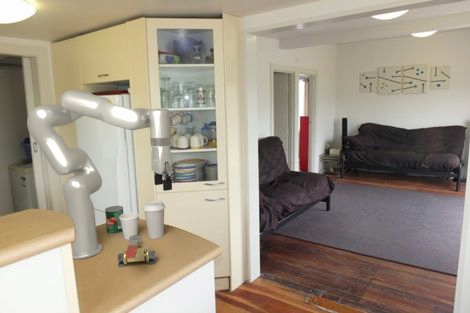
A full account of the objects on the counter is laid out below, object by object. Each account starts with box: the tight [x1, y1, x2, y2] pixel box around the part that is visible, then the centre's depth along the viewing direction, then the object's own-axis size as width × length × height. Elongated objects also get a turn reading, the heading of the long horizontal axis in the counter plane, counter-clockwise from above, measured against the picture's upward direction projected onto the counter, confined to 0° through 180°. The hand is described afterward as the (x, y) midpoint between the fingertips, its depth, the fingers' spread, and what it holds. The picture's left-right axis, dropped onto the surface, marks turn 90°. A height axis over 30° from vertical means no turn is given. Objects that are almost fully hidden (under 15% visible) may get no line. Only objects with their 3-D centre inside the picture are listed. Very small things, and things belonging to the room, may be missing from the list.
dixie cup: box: [119, 212, 140, 240], centre depth 148 cm, size 8×8×10 cm
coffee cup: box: [142, 200, 166, 240], centre depth 149 cm, size 10×10×15 cm
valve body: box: [117, 240, 157, 268], centre depth 124 cm, size 13×6×8 cm, turn 99°
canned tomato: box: [104, 205, 124, 235], centre depth 156 cm, size 8×8×11 cm
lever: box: [125, 234, 143, 259], centre depth 118 cm, size 4×15×2 cm, turn 9°
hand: (163, 187), depth 127 cm, fingers open, 9 cm apart
